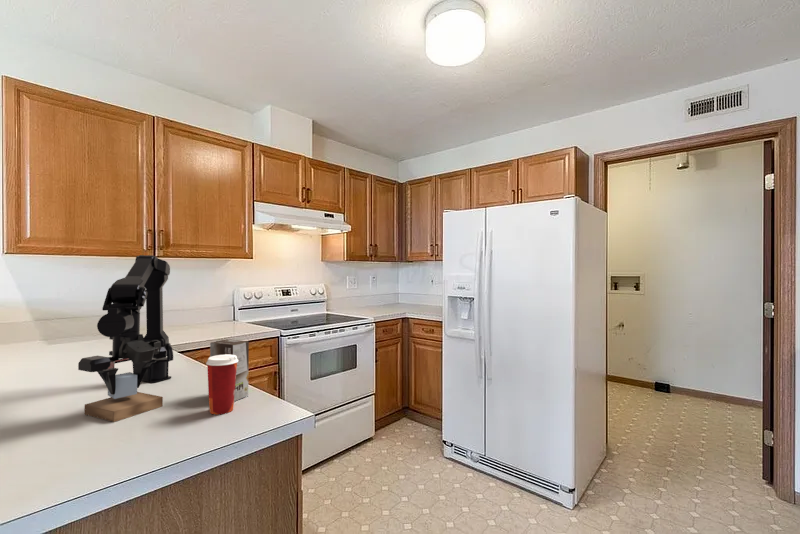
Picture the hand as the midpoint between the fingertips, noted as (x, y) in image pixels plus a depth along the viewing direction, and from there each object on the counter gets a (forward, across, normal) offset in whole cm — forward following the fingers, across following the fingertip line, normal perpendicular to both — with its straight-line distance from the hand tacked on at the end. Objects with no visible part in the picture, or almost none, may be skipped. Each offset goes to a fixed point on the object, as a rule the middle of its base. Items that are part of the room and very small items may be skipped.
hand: (125, 390), depth 99 cm
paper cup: (+5, +10, -23) cm, 26 cm away
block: (+1, 0, +2) cm, 2 cm away
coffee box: (+5, +19, -16) cm, 25 cm away
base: (+5, 0, 0) cm, 5 cm away
